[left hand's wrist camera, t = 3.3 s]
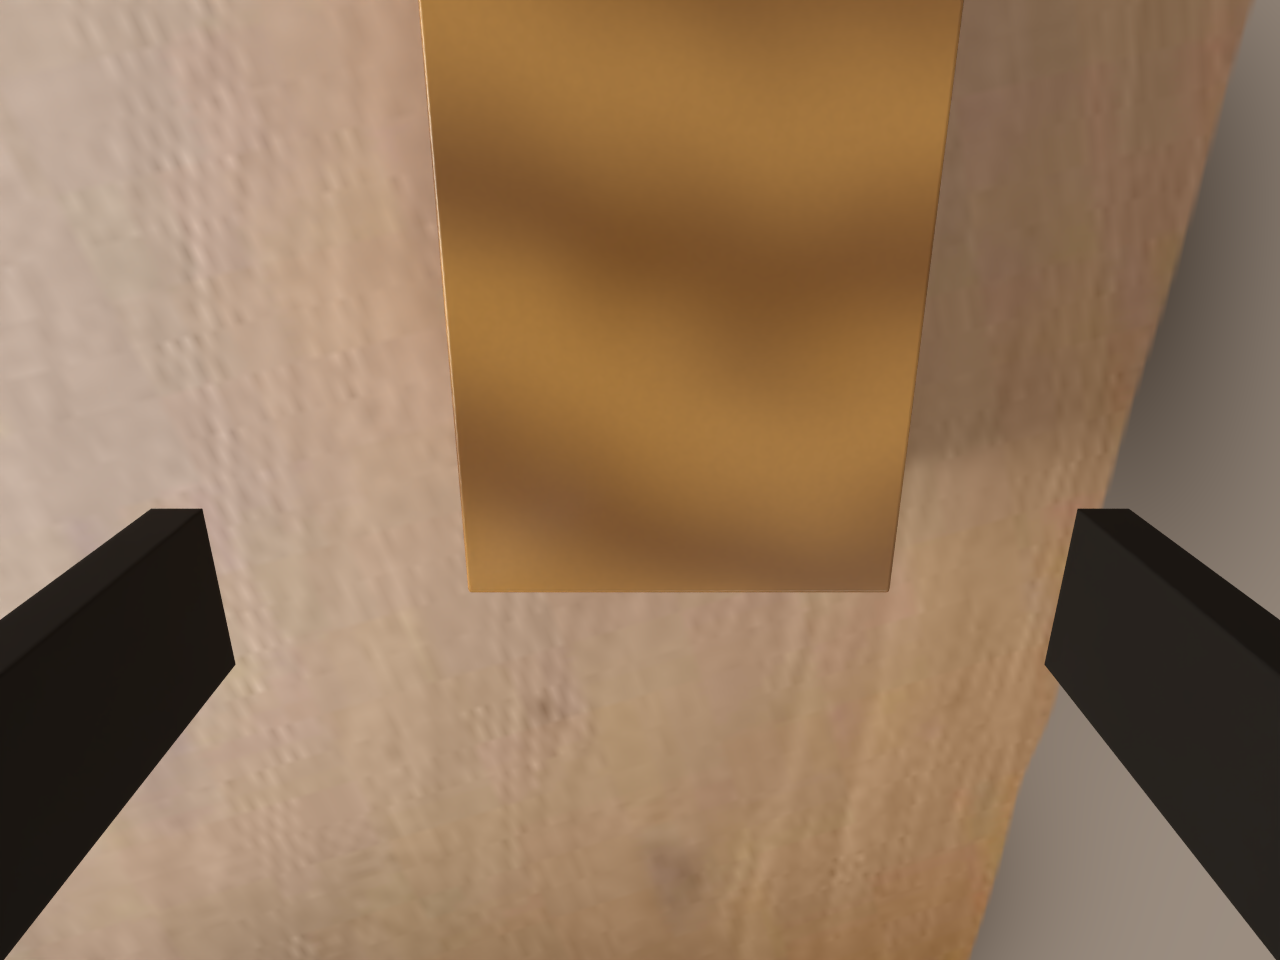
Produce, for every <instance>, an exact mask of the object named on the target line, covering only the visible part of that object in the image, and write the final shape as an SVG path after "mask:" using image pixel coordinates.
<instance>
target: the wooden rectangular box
mask: <svg viewBox="0 0 1280 960" xmlns="http://www.w3.org/2000/svg"><path fill="white" fill-rule="evenodd" d="M418 1H419V13H420V25H421V37H422V49H423V60H424V72H425V84H426V96H427V107H428V119H429V131H430V143H431V155H432V166H433V178H434V190H435V202H436V214H437V225H438V237H439V249H440V261H441V273H442V284H443V296H444V308H445V320H446V331H447V343H448V355H449V367H450V379H451V390H452V402H453V414H454V426H455V438H456V449H457V461H458V473H459V485H460V496H461V508H462V520H463V532H464V544H465V555H466V567H467V579H468V589H469V591H470V592H888V591H889V588H890V580H891V572H892V564H893V556H894V548H895V540H896V532H897V525H898V517H899V509H900V501H901V493H902V485H903V477H904V469H905V461H906V453H907V445H908V437H909V430H910V422H911V414H912V406H913V398H914V390H915V382H916V374H917V366H918V358H919V350H920V343H921V335H922V327H923V319H924V311H925V303H926V295H927V287H928V279H929V271H930V263H931V255H932V248H933V240H934V232H935V224H936V216H937V208H938V200H939V192H940V184H941V176H942V168H943V160H944V153H945V145H946V137H947V129H948V121H949V113H950V105H951V97H952V89H953V81H954V73H955V66H956V58H957V50H958V42H959V34H960V26H961V18H962V10H963V2H964V0H418Z"/></svg>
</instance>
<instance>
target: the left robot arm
mask: <svg viewBox="0 0 1280 960" xmlns="http://www.w3.org/2000/svg"><path fill="white" fill-rule="evenodd" d="M234 666H235V660H234V655H233V650H232V646H231V641H230V636H229V632H228V627H227V622H226V618H225V613H224V608H223V604H222V599H221V594H220V589H219V585H218V580H217V575H216V571H215V566H214V561H213V557H212V552H211V547H210V543H209V538H208V533H207V529H206V524H205V519H204V514H203V510H202V509H150V510H149V511H148V512H146V513H145V514H143V515H142V516H141V517H139V518H138V519H137V520H135V521H134V522H133V523H131V524H130V525H128V526H127V527H126V528H124V529H123V530H122V531H120V532H119V533H118V534H116V535H115V536H114V537H112V538H111V539H109V540H108V541H107V542H105V543H104V544H103V545H101V546H100V547H99V548H97V549H96V550H95V551H93V552H92V553H90V554H89V555H88V556H86V557H85V558H84V559H82V560H81V561H80V562H78V563H77V564H76V565H74V566H73V567H71V568H70V569H69V570H67V571H66V572H65V573H63V574H62V575H61V576H59V577H58V578H57V579H55V580H54V581H52V582H51V583H50V584H48V585H47V586H46V587H44V588H43V589H42V590H40V591H39V592H38V593H36V594H35V595H33V596H32V597H31V598H29V599H28V600H27V601H25V602H24V603H23V604H21V605H20V606H19V607H17V608H16V609H14V610H13V611H12V612H10V613H9V614H8V615H6V616H5V617H4V618H2V619H1V620H0V960H4V959H5V958H6V956H7V955H8V954H9V953H10V951H11V950H12V949H13V947H14V946H15V945H16V944H17V942H18V941H19V940H20V939H21V937H22V936H23V935H24V933H25V932H26V931H27V930H28V928H29V927H30V926H31V924H32V923H33V922H34V921H35V919H36V918H37V917H38V916H39V914H40V913H41V912H42V910H43V909H44V908H45V907H46V905H47V904H48V903H49V902H50V900H51V899H52V898H53V896H54V895H55V894H56V893H57V891H58V890H59V889H60V888H61V886H62V885H63V884H64V882H65V881H66V880H67V879H68V877H69V876H70V875H71V874H72V872H73V871H74V870H75V868H76V867H77V866H78V865H79V863H80V862H81V861H82V859H83V858H84V857H85V856H86V854H87V853H88V852H89V851H90V849H91V848H92V847H93V845H94V844H95V843H96V842H97V840H98V839H99V838H100V837H101V835H102V834H103V833H104V831H105V830H106V829H107V828H108V826H109V825H110V824H111V823H112V821H113V820H114V819H115V817H116V816H117V815H118V814H119V812H120V811H121V810H122V808H123V807H124V806H125V805H126V803H127V802H128V801H129V800H130V798H131V797H132V796H133V794H134V793H135V792H136V791H137V789H138V788H139V787H140V786H141V784H142V783H143V782H144V780H145V779H146V778H147V777H148V775H149V774H150V773H151V772H152V770H153V769H154V768H155V766H156V765H157V764H158V763H159V761H160V760H161V759H162V757H163V756H164V755H165V754H166V752H167V751H168V750H169V749H170V747H171V746H172V745H173V743H174V742H175V741H176V740H177V738H178V737H179V736H180V735H181V733H182V732H183V731H184V729H185V728H186V727H187V726H188V724H189V723H190V722H191V721H192V719H193V718H194V717H195V715H196V714H197V713H198V712H199V710H200V709H201V708H202V706H203V705H204V704H205V703H206V701H207V700H208V699H209V698H210V696H211V695H212V694H213V692H214V691H215V690H216V689H217V687H218V686H219V685H220V684H221V682H222V681H223V680H224V678H225V677H226V676H227V675H228V673H229V672H230V671H231V670H232V668H233V667H234ZM1045 666H1046V667H1047V668H1048V670H1049V671H1050V672H1051V673H1052V675H1053V676H1054V677H1055V678H1056V680H1057V681H1058V682H1059V684H1060V685H1061V686H1062V687H1063V689H1064V690H1065V691H1066V692H1067V694H1068V695H1069V696H1070V697H1071V699H1072V700H1073V701H1074V703H1075V704H1076V705H1077V706H1078V708H1079V709H1080V710H1081V712H1082V713H1083V714H1084V715H1085V717H1086V718H1087V719H1088V720H1089V722H1090V723H1091V724H1092V726H1093V727H1094V728H1095V729H1096V731H1097V732H1098V733H1099V734H1100V736H1101V737H1102V738H1103V740H1104V741H1105V742H1106V743H1107V745H1108V746H1109V747H1110V749H1111V750H1112V751H1113V752H1114V754H1115V755H1116V756H1117V757H1118V759H1119V760H1120V761H1121V763H1122V764H1123V765H1124V766H1125V768H1126V769H1127V770H1128V772H1129V773H1130V774H1131V775H1132V777H1133V778H1134V779H1135V780H1136V782H1137V783H1138V784H1139V785H1140V787H1141V788H1142V789H1143V790H1144V792H1145V793H1146V794H1147V796H1148V797H1149V798H1150V800H1151V801H1152V802H1153V803H1154V805H1155V806H1156V807H1157V808H1158V810H1159V811H1160V812H1161V814H1162V815H1163V816H1164V817H1165V819H1166V820H1167V821H1168V823H1169V824H1170V825H1171V826H1172V828H1173V829H1174V830H1175V831H1176V833H1177V834H1178V835H1179V836H1180V838H1181V839H1182V840H1183V842H1184V843H1185V844H1186V845H1187V847H1188V848H1189V849H1190V851H1191V852H1192V853H1193V854H1194V856H1195V857H1196V858H1197V859H1198V861H1199V862H1200V863H1201V865H1202V866H1203V867H1204V868H1205V870H1206V871H1207V872H1208V873H1209V875H1210V876H1211V877H1212V879H1213V880H1214V881H1215V882H1216V884H1217V885H1218V886H1219V888H1220V889H1221V890H1222V891H1223V893H1224V894H1225V895H1226V896H1227V898H1228V899H1229V900H1230V902H1231V903H1232V904H1233V905H1234V907H1235V908H1236V909H1237V910H1238V912H1239V913H1240V914H1241V916H1242V917H1243V918H1244V919H1245V921H1246V922H1247V923H1248V924H1249V926H1250V927H1251V928H1252V930H1253V931H1254V932H1255V933H1256V935H1257V936H1258V937H1259V939H1260V940H1261V941H1262V942H1263V944H1264V945H1265V946H1266V947H1267V949H1268V950H1269V951H1270V953H1271V954H1272V955H1273V956H1274V958H1275V959H1276V960H1280V620H1279V619H1278V618H1276V617H1275V616H1274V615H1272V614H1271V613H1270V612H1268V611H1267V610H1266V609H1264V608H1263V607H1261V606H1260V605H1259V604H1257V603H1256V602H1255V601H1253V600H1252V599H1251V598H1249V597H1248V596H1247V595H1245V594H1244V593H1242V592H1241V591H1240V590H1238V589H1237V588H1236V587H1234V586H1233V585H1232V584H1230V583H1229V582H1228V581H1226V580H1225V579H1223V578H1222V577H1221V576H1219V575H1218V574H1217V573H1215V572H1214V571H1213V570H1211V569H1210V568H1208V567H1207V566H1206V565H1204V564H1203V563H1202V562H1200V561H1199V560H1198V559H1196V558H1195V557H1194V556H1192V555H1191V554H1190V553H1188V552H1187V551H1185V550H1184V549H1183V548H1181V547H1180V546H1179V545H1177V544H1176V543H1175V542H1173V541H1172V540H1170V539H1169V538H1168V537H1166V536H1165V535H1164V534H1162V533H1161V532H1160V531H1158V530H1157V529H1156V528H1154V527H1153V526H1152V525H1150V524H1149V523H1147V522H1146V521H1145V520H1143V519H1142V518H1141V517H1139V516H1138V515H1137V514H1135V513H1134V512H1132V511H1131V510H1130V509H1078V510H1077V514H1076V519H1075V524H1074V529H1073V533H1072V538H1071V543H1070V547H1069V552H1068V557H1067V561H1066V566H1065V571H1064V575H1063V580H1062V585H1061V589H1060V594H1059V599H1058V604H1057V608H1056V613H1055V618H1054V622H1053V627H1052V632H1051V636H1050V641H1049V646H1048V650H1047V655H1046V660H1045Z"/></svg>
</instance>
